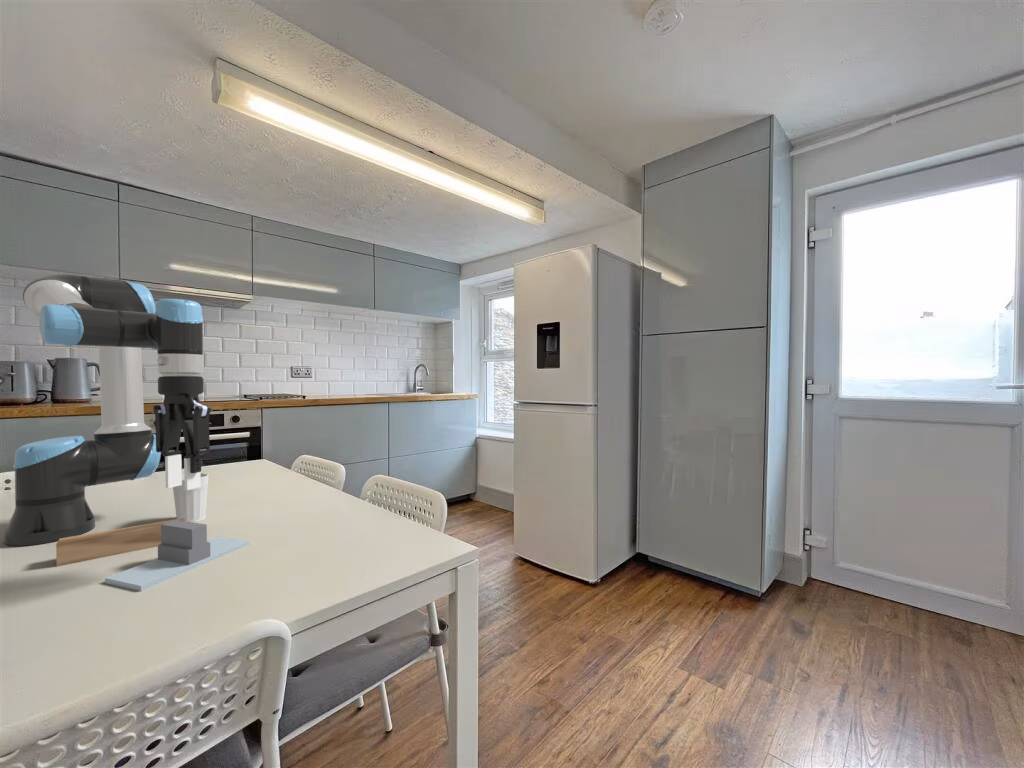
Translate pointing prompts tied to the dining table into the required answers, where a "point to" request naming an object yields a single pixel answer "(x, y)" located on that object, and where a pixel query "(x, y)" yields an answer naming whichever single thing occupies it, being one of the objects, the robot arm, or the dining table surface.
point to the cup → (191, 500)
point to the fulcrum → (176, 555)
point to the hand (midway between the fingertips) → (183, 487)
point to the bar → (108, 543)
